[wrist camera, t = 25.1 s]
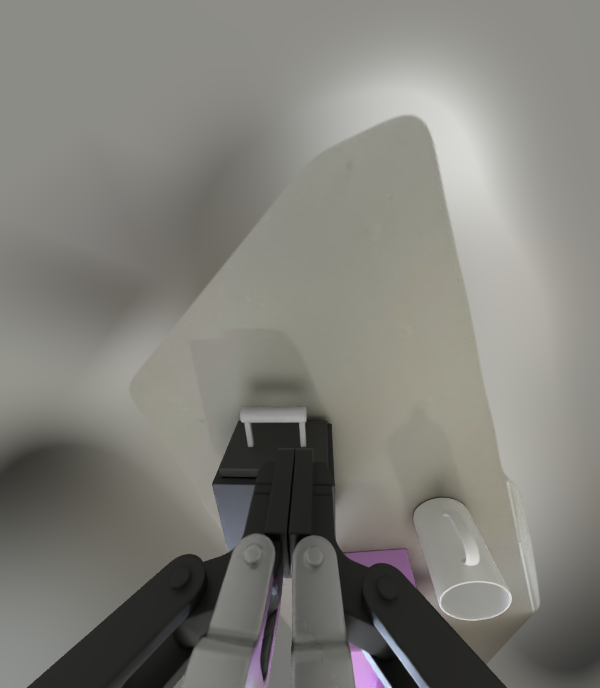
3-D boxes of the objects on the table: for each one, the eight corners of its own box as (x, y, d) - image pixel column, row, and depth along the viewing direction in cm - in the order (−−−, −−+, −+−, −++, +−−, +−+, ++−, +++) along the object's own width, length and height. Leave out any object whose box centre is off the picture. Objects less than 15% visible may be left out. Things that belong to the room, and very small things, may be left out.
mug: (467, 531, 43) (509, 620, 33) (413, 534, 44) (439, 621, 35) (469, 471, 39) (518, 554, 29) (409, 476, 40) (437, 558, 30)
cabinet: (237, 423, 38) (211, 484, 29) (331, 423, 37) (334, 486, 28) (251, 505, 44) (233, 575, 35) (332, 507, 43) (336, 580, 34)
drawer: (232, 387, 35) (209, 430, 28) (326, 386, 34) (327, 430, 27) (251, 500, 42) (237, 556, 35) (328, 501, 41) (330, 560, 34)
